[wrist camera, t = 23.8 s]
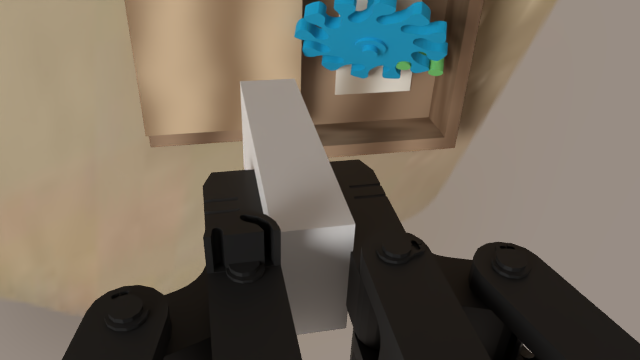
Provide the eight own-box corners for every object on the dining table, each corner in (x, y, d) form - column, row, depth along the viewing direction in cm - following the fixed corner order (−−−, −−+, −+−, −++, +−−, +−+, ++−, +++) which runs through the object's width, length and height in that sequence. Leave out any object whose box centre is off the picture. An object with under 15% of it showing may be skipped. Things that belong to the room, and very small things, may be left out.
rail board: (150, 143, 42) (148, 171, 39) (115, -89, 33) (109, -77, 30) (435, 123, 47) (454, 147, 43) (471, -86, 38) (498, -76, 34)
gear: (265, 50, 37) (358, -10, 29) (277, -26, 39) (370, -104, 31) (386, 102, 43) (492, 64, 35) (393, 34, 45) (497, -18, 37)
